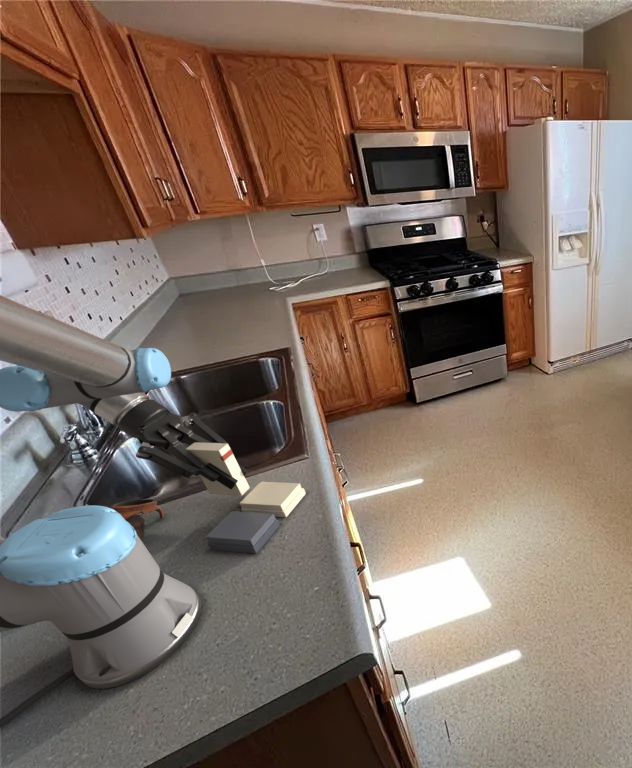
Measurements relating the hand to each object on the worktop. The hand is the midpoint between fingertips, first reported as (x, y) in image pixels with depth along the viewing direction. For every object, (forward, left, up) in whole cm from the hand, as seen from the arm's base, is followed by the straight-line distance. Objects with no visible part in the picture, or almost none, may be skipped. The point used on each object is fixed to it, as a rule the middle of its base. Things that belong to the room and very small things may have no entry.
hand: (239, 479), depth 87 cm
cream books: (+3, -5, -6) cm, 9 cm away
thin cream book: (-2, +3, -3) cm, 5 cm away
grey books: (-5, -10, -6) cm, 13 cm away
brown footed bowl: (-18, +10, -7) cm, 22 cm away
